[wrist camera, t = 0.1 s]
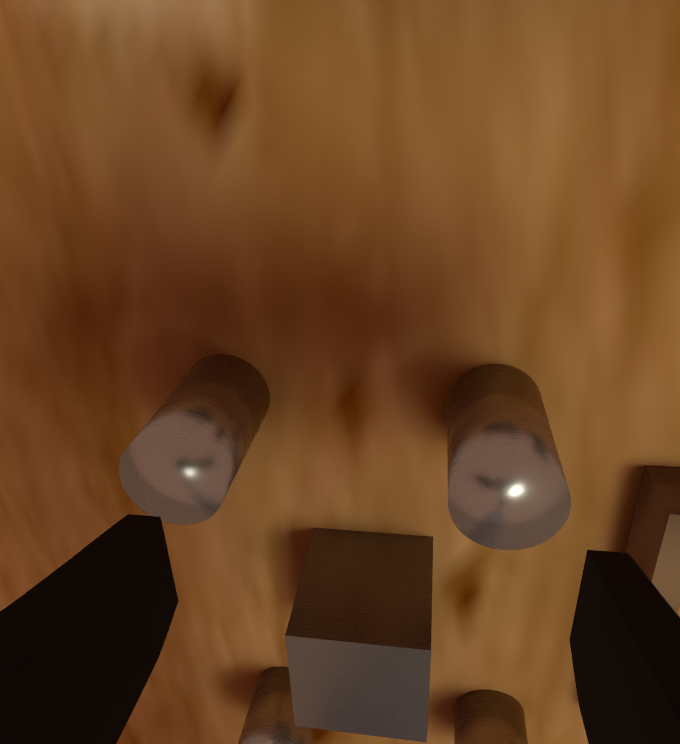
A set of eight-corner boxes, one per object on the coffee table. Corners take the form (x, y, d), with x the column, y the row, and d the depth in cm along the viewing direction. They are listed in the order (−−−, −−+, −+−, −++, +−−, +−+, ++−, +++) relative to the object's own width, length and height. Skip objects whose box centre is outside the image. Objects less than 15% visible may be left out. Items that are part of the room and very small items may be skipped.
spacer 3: (536, 446, 20) (562, 554, 16) (444, 441, 21) (445, 545, 16) (546, 365, 19) (578, 459, 14) (449, 362, 19) (450, 451, 15)
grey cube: (429, 620, 25) (426, 742, 20) (320, 610, 25) (295, 725, 21) (433, 535, 23) (431, 650, 18) (314, 527, 23) (285, 635, 19)
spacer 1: (273, 432, 22) (229, 528, 17) (192, 428, 22) (129, 520, 18) (265, 356, 20) (216, 438, 16) (180, 353, 21) (109, 432, 16)
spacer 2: (322, 713, 28) (300, 833, 24) (260, 706, 29) (227, 822, 24) (318, 671, 27) (294, 789, 23) (253, 663, 27) (217, 778, 23)
